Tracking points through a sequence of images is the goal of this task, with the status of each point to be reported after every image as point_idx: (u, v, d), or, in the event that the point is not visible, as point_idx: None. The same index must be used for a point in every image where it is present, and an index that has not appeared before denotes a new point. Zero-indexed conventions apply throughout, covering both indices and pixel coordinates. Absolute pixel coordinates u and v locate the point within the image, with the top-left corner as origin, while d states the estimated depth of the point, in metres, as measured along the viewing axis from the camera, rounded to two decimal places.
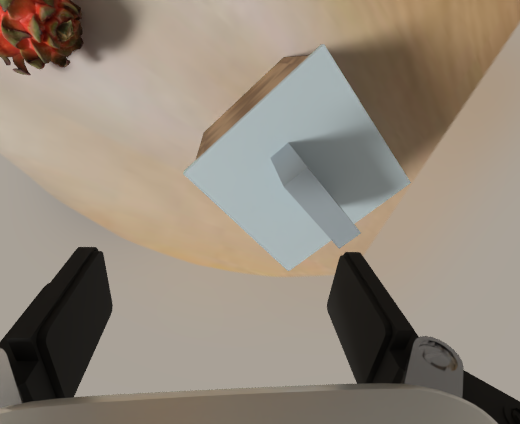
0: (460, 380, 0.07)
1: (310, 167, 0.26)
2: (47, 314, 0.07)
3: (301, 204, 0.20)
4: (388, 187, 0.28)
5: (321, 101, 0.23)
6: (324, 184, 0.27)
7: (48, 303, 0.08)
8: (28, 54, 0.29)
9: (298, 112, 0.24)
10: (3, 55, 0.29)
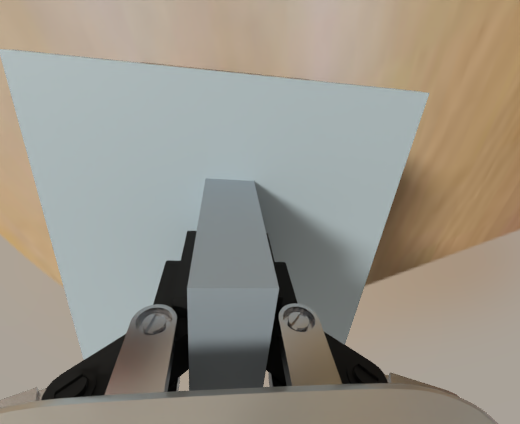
0: (321, 331, 0.08)
1: None
2: None
3: (192, 348, 0.07)
4: None
5: (350, 167, 0.12)
6: None
7: (188, 272, 0.09)
8: None
9: (308, 152, 0.12)
10: None
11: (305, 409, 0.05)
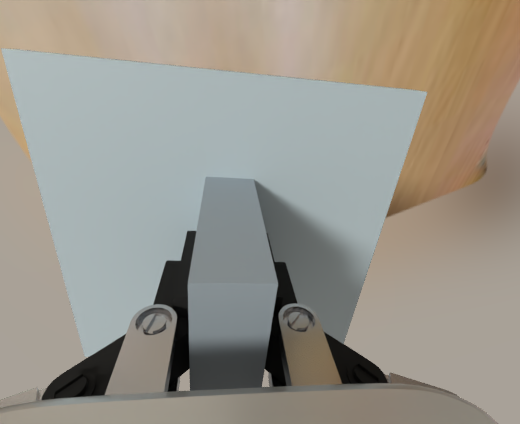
0: (321, 331, 0.08)
1: None
2: None
3: (193, 343, 0.07)
4: None
5: (349, 166, 0.12)
6: None
7: None
8: None
9: (307, 150, 0.12)
10: None
11: (305, 409, 0.05)
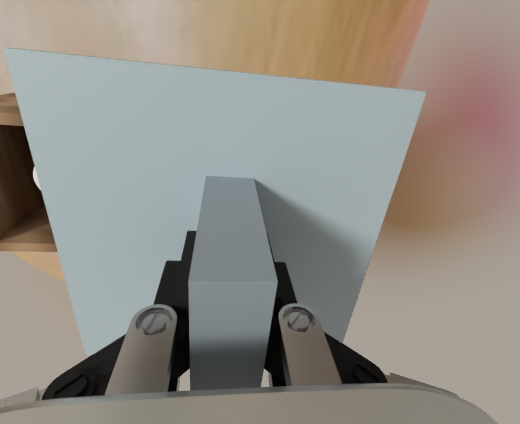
0: (321, 331, 0.08)
1: None
2: None
3: (193, 340, 0.07)
4: None
5: (348, 165, 0.13)
6: None
7: (188, 272, 0.09)
8: None
9: (307, 149, 0.12)
10: None
11: (305, 409, 0.05)
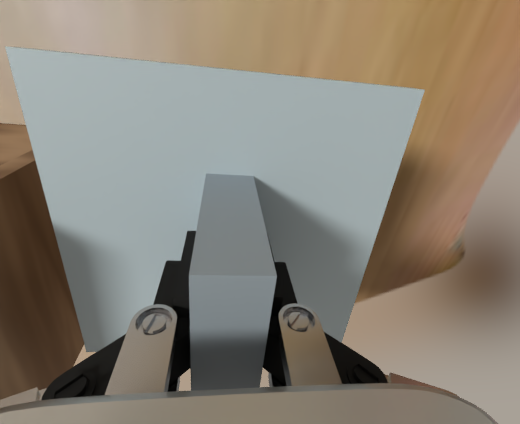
0: (321, 331, 0.08)
1: None
2: None
3: (194, 334, 0.07)
4: None
5: (347, 163, 0.13)
6: None
7: (188, 272, 0.09)
8: None
9: (307, 147, 0.12)
10: None
11: (305, 409, 0.05)
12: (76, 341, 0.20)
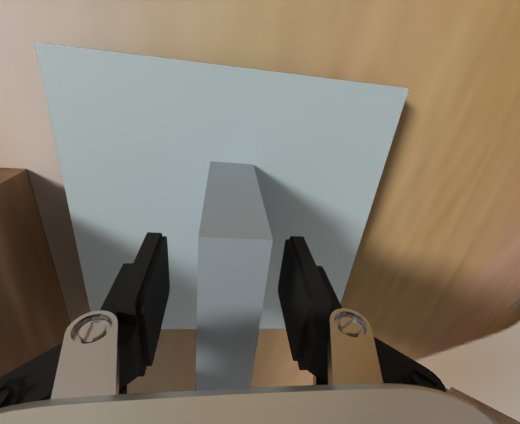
0: (372, 340, 0.08)
1: None
2: (140, 285, 0.09)
3: (200, 292, 0.09)
4: None
5: (339, 154, 0.14)
6: None
7: (138, 277, 0.09)
8: None
9: (302, 139, 0.13)
10: None
11: (305, 409, 0.05)
12: None
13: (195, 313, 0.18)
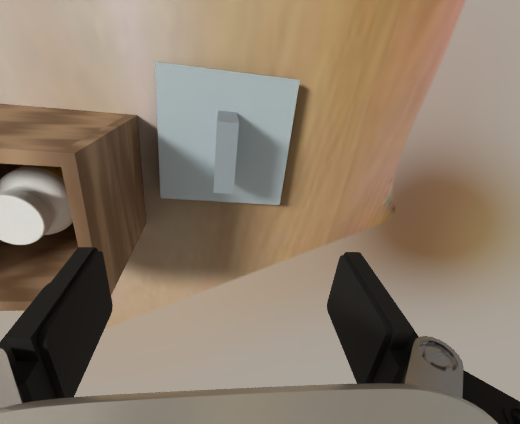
0: (460, 380, 0.07)
1: None
2: (47, 314, 0.07)
3: (216, 142, 0.27)
4: (266, 196, 0.37)
5: (273, 108, 0.32)
6: None
7: (48, 303, 0.08)
8: None
9: (257, 101, 0.32)
10: None
11: (305, 409, 0.05)
12: (128, 248, 0.32)
13: (209, 191, 0.36)
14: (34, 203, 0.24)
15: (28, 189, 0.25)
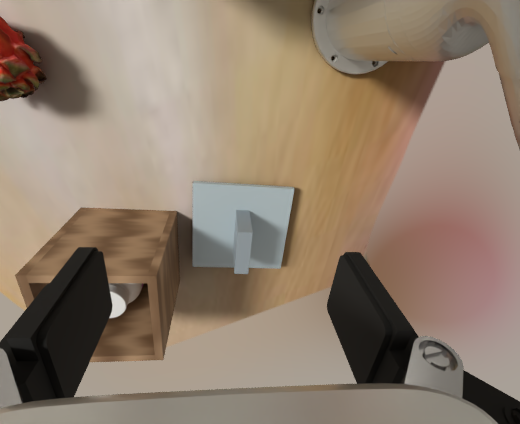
0: (460, 380, 0.07)
1: None
2: (47, 314, 0.07)
3: (237, 244, 0.40)
4: (270, 263, 0.50)
5: (275, 207, 0.45)
6: None
7: (48, 303, 0.08)
8: None
9: (263, 203, 0.44)
10: None
11: (305, 409, 0.05)
12: (172, 308, 0.45)
13: (228, 260, 0.49)
14: (120, 293, 0.36)
15: None
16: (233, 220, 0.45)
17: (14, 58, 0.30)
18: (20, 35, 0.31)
